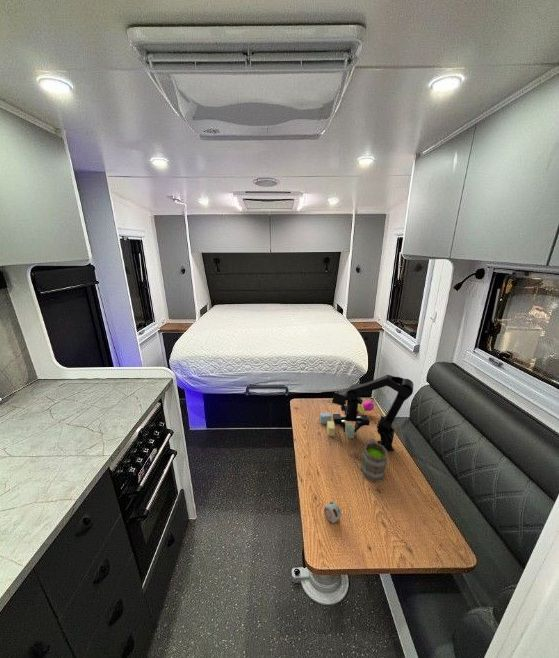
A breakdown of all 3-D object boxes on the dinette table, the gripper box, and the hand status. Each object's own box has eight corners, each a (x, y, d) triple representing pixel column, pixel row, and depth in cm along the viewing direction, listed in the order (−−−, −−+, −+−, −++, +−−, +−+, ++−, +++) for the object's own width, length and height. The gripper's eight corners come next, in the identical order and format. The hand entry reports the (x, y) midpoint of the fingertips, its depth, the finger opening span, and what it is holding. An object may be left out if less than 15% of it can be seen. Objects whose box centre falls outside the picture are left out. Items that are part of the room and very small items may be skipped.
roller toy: (330, 507, 101) (331, 496, 99) (342, 520, 96) (344, 509, 95) (322, 513, 99) (323, 502, 97) (334, 527, 94) (335, 516, 92)
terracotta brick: (344, 422, 151) (345, 415, 149) (342, 425, 148) (343, 418, 147) (335, 418, 154) (335, 411, 152) (332, 422, 151) (333, 414, 150)
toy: (343, 409, 164) (342, 401, 157) (370, 401, 164) (370, 393, 157) (349, 424, 157) (348, 415, 150) (377, 415, 156) (378, 407, 149)
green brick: (353, 438, 138) (354, 430, 137) (346, 438, 139) (347, 430, 137) (351, 430, 144) (352, 423, 143) (344, 430, 144) (345, 423, 143)
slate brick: (329, 419, 153) (329, 412, 152) (330, 423, 150) (331, 415, 149) (319, 420, 153) (319, 412, 151) (321, 423, 149) (321, 416, 148)
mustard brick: (334, 436, 140) (335, 428, 138) (328, 435, 140) (328, 428, 138) (333, 428, 146) (333, 421, 144) (326, 428, 146) (327, 421, 144)
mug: (387, 483, 112) (391, 462, 108) (361, 479, 114) (364, 457, 110) (381, 456, 126) (384, 436, 123) (358, 452, 128) (360, 433, 125)
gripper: (365, 400, 143) (362, 423, 148) (332, 398, 144) (330, 422, 149) (371, 412, 133) (368, 437, 138) (335, 410, 134) (333, 435, 138)
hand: (349, 432), depth 141 cm, fingers open, 5 cm apart
